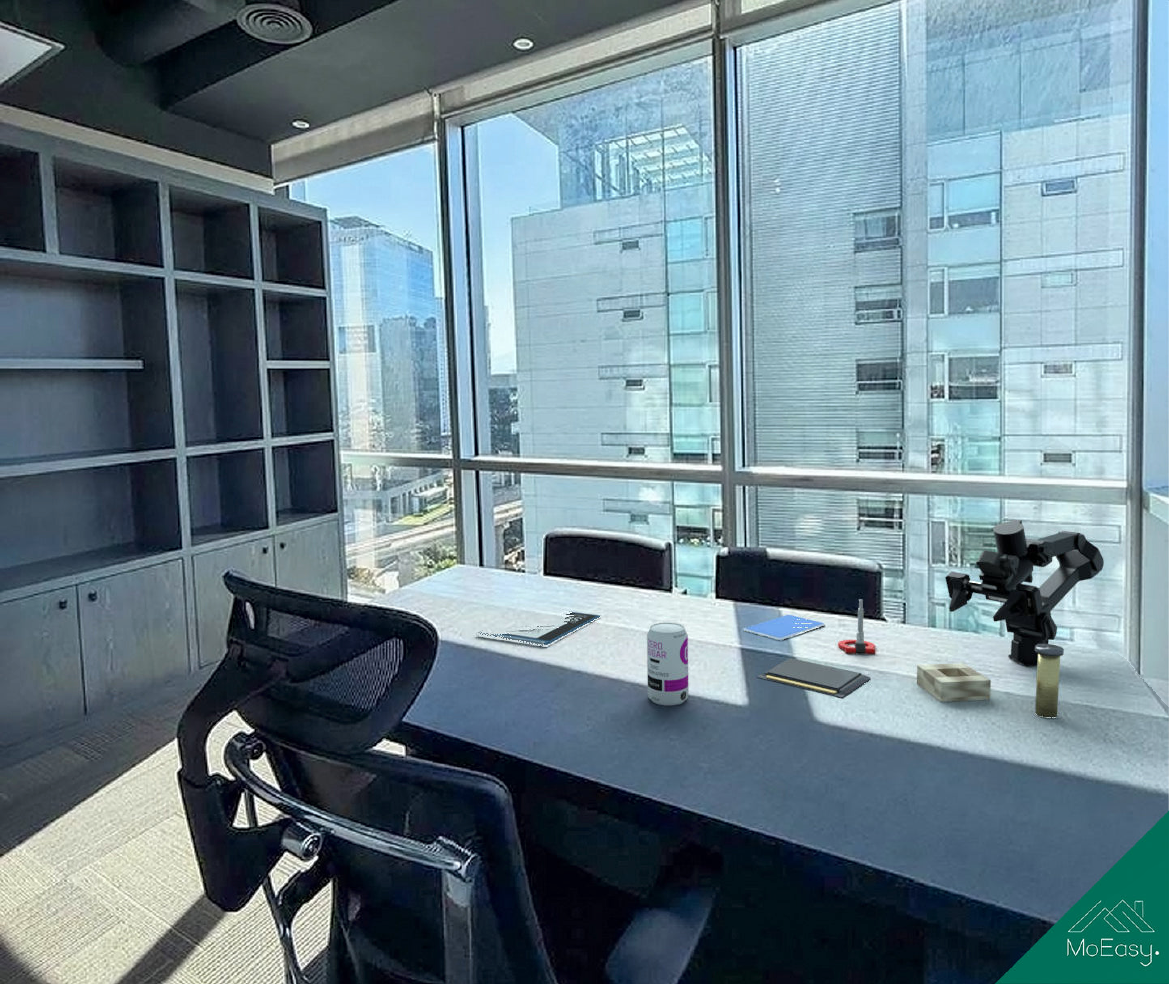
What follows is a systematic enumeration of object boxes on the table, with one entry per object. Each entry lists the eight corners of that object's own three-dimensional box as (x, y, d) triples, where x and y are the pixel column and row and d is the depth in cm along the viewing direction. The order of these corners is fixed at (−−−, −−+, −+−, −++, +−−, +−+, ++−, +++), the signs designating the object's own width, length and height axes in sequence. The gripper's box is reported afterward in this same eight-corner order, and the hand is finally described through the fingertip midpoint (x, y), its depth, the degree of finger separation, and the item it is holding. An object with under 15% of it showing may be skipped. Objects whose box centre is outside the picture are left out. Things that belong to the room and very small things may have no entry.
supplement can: (691, 693, 163) (691, 623, 161) (683, 708, 155) (682, 635, 153) (653, 689, 165) (652, 620, 164) (643, 704, 158) (642, 632, 156)
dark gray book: (873, 673, 168) (841, 693, 157) (873, 681, 169) (841, 702, 158) (789, 653, 182) (754, 671, 171) (789, 661, 182) (754, 680, 171)
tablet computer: (780, 643, 195) (780, 638, 195) (741, 632, 205) (741, 627, 205) (827, 628, 207) (827, 623, 207) (787, 618, 217) (788, 613, 217)
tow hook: (835, 643, 194) (842, 654, 185) (836, 592, 193) (842, 600, 184) (871, 644, 193) (879, 655, 183) (872, 592, 192) (880, 600, 182)
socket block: (962, 681, 166) (963, 663, 165) (989, 699, 156) (990, 680, 155) (916, 683, 165) (917, 665, 165) (940, 701, 155) (941, 682, 155)
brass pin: (1049, 709, 150) (1053, 643, 149) (1066, 719, 146) (1069, 651, 144) (1026, 710, 150) (1029, 644, 148) (1042, 720, 145) (1045, 652, 144)
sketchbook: (600, 620, 220) (600, 612, 220) (545, 651, 194) (544, 643, 194) (535, 611, 230) (535, 604, 230) (474, 639, 204) (474, 632, 204)
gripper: (960, 536, 173) (921, 573, 165) (1049, 549, 158) (1011, 590, 150) (969, 579, 177) (932, 617, 169) (1057, 595, 161) (1020, 637, 154)
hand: (971, 614), depth 161 cm, fingers open, 9 cm apart
